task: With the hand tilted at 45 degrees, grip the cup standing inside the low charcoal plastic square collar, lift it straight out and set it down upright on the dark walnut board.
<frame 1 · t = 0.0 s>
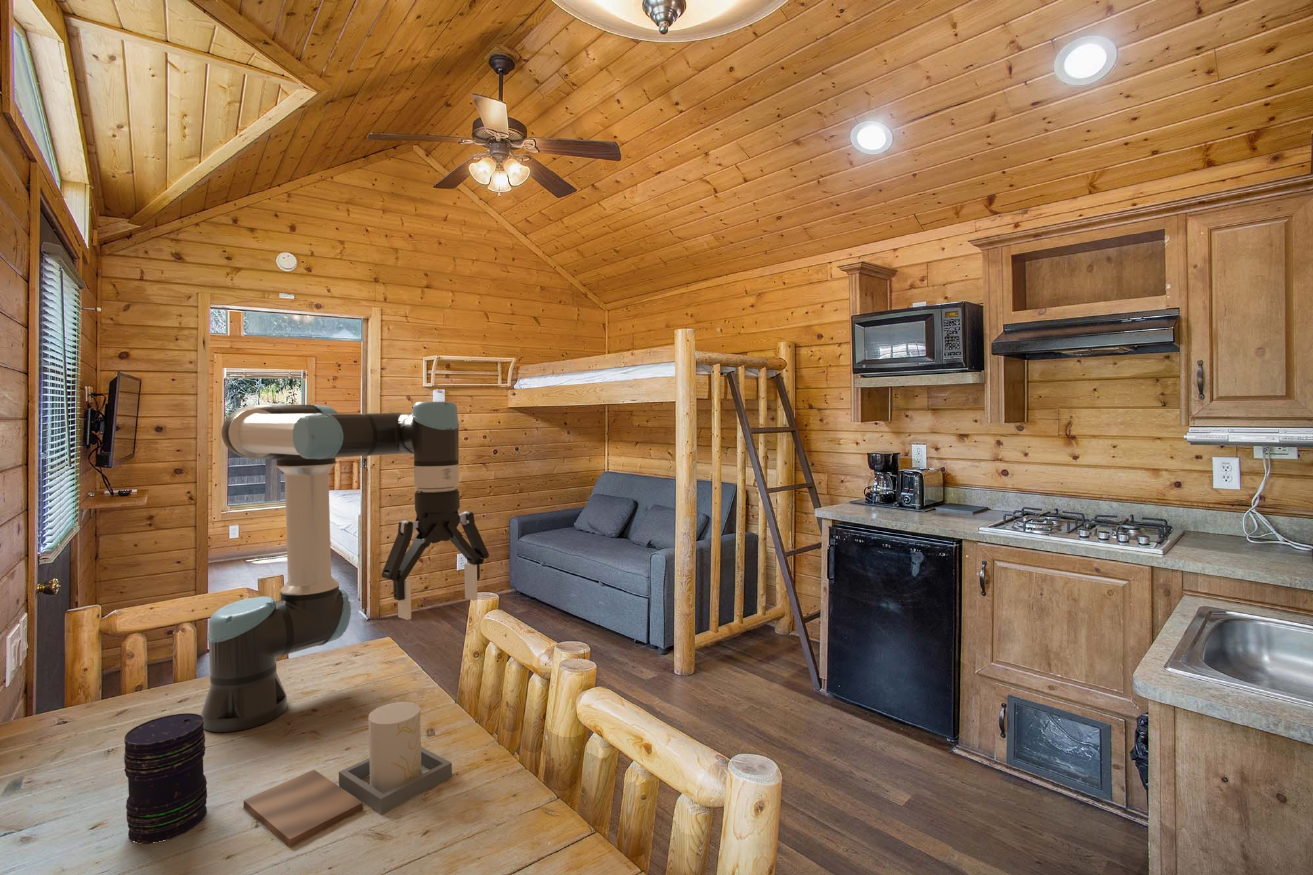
hand: (439, 608, 115), 28 cm above the table, tool pointing down, fingers open, 13 cm apart
square collar: (396, 781, 110), on the table
dark purple cylinder: (168, 824, 99), on the table
cup: (396, 782, 110), resting in square collar
walnut board: (303, 808, 103), on the table
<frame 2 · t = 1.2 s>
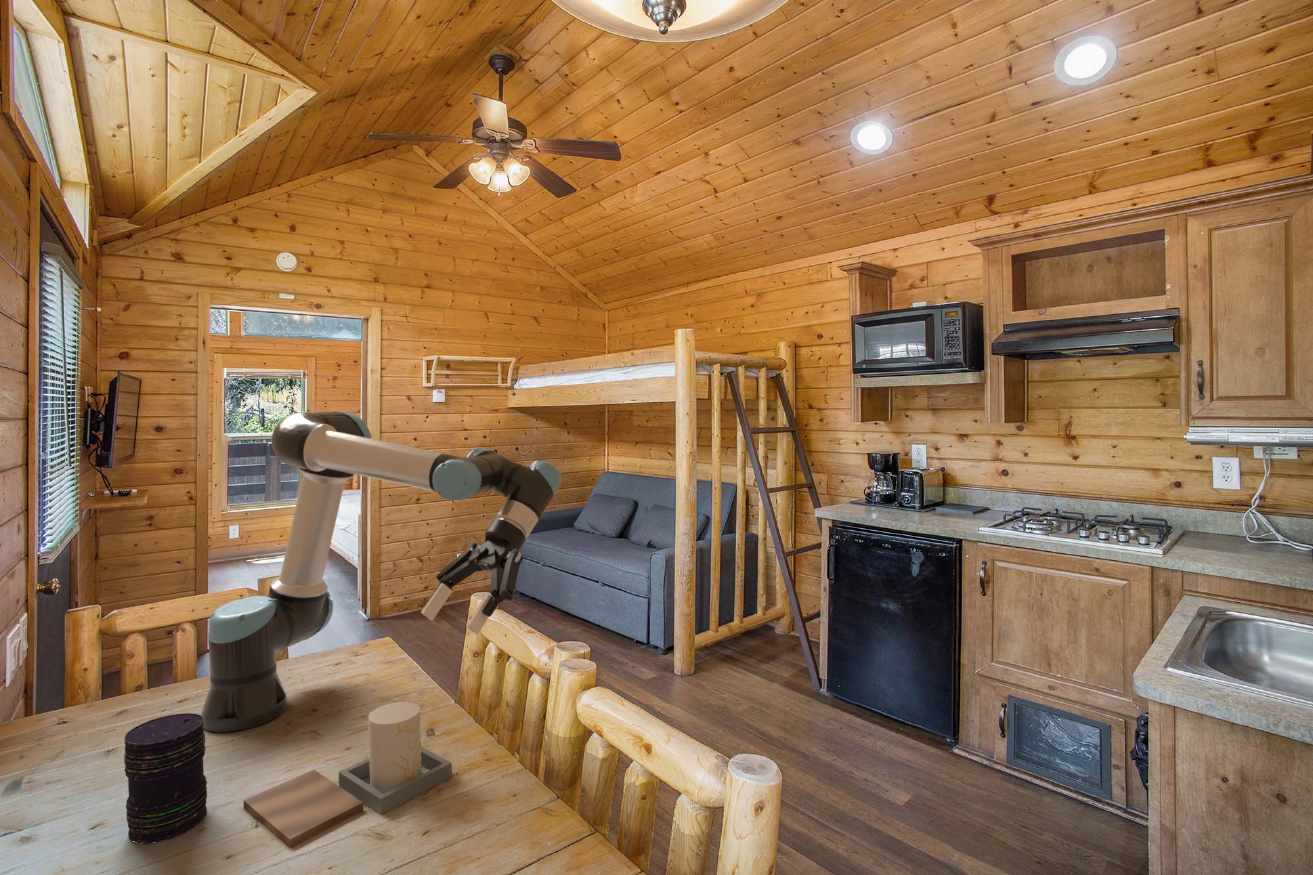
hand: (448, 623, 118), 24 cm above the table, tool tilted 45°, fingers open, 13 cm apart
nothing on the table moved.
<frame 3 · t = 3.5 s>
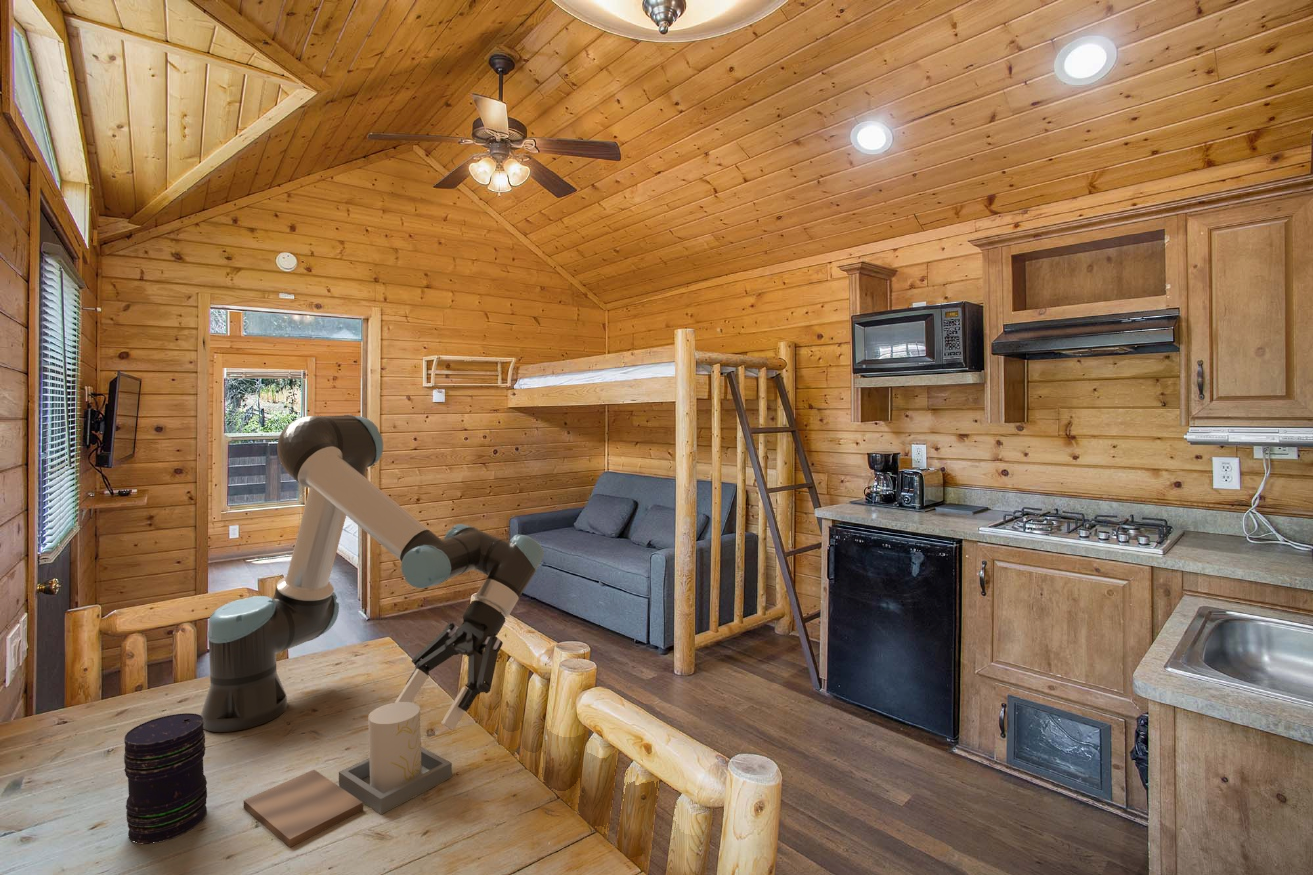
hand: (423, 716, 113), 10 cm above the table, tool tilted 45°, fingers open, 13 cm apart
nothing on the table moved.
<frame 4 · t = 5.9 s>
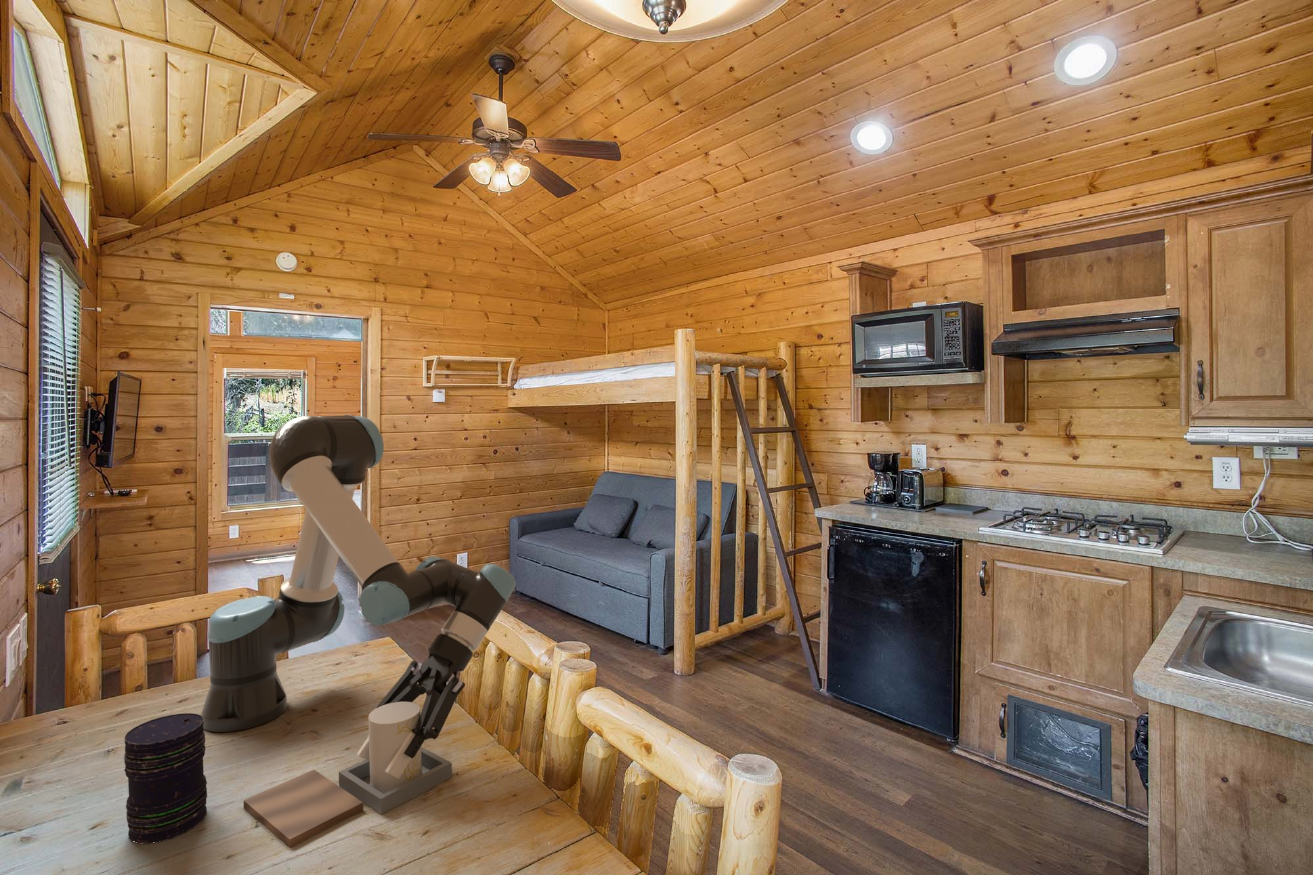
hand: (377, 766, 107), 4 cm above the table, tool tilted 45°, fingers closed on cup, 8 cm apart
cup: (396, 782, 110), resting in square collar, touching gripper
everything else where it was.
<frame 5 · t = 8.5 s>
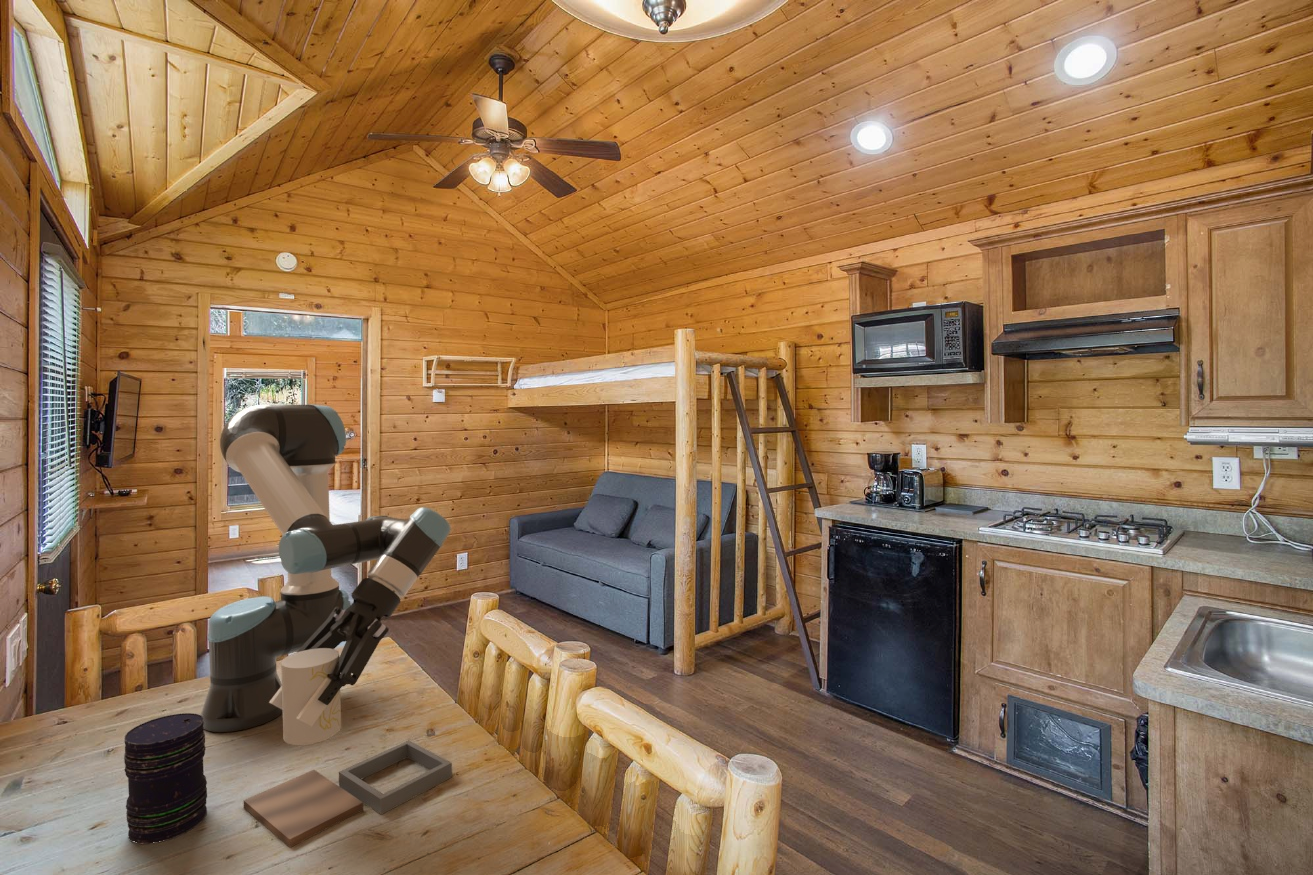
hand: (290, 714, 100), 16 cm above the table, tool tilted 45°, fingers closed on cup, 8 cm apart
cup: (312, 732, 103), point 12 cm above the table, touching gripper
everything else where it was.
when the fingers open (7 cm above the table, at t = 11.4 s): cup drops 1 cm, resting on walnut board.
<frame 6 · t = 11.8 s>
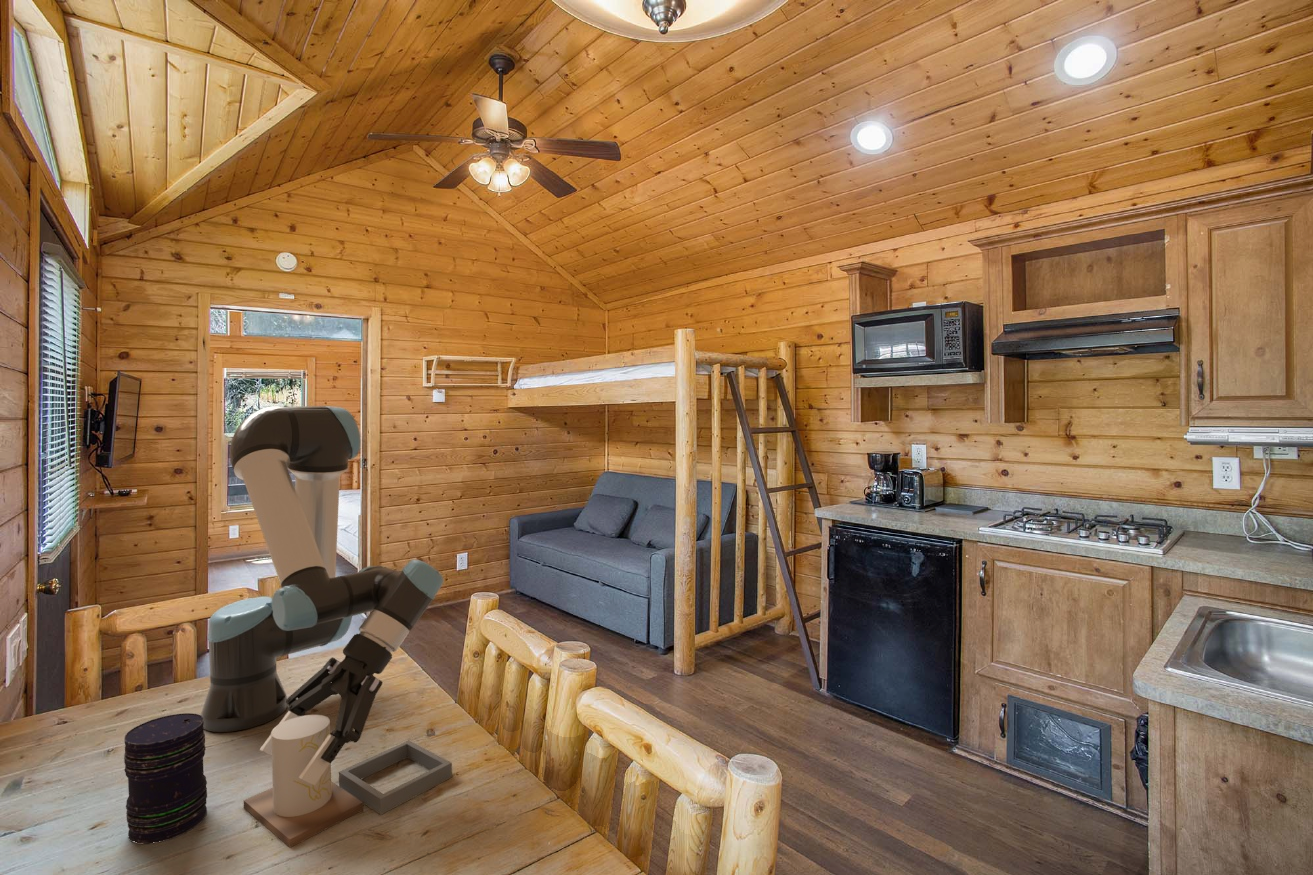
hand: (285, 767, 101), 8 cm above the table, tool tilted 45°, fingers open, 13 cm apart
cup: (303, 802, 103), point 1 cm above the table, touching walnut board
everything else where it was.
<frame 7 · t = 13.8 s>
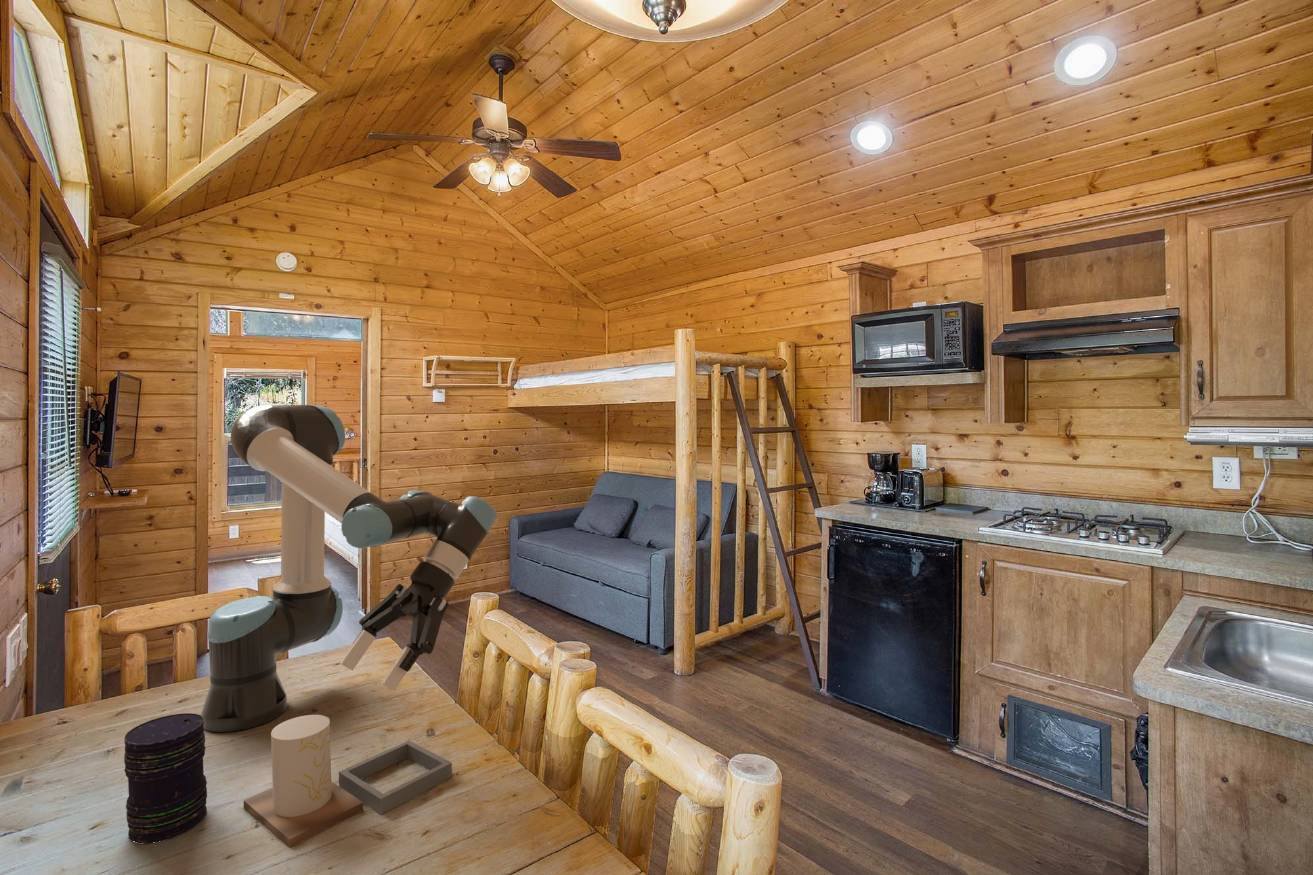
hand: (365, 676, 111), 17 cm above the table, tool tilted 45°, fingers open, 13 cm apart
nothing on the table moved.
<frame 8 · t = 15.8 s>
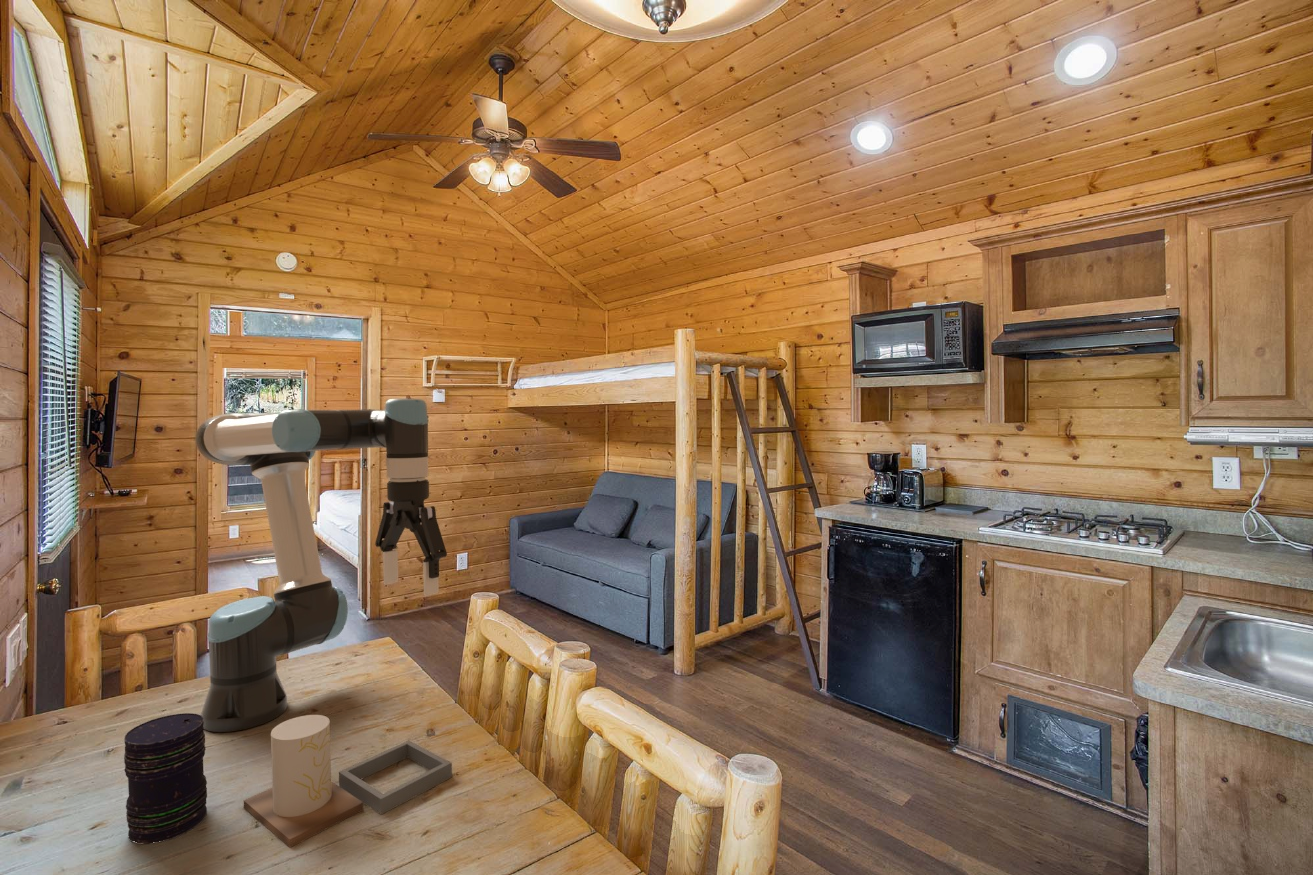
hand: (410, 589, 125), 29 cm above the table, tool pointing down, fingers open, 13 cm apart
nothing on the table moved.
at the end: cup inside the target area on the walnut board (0.1 cm from its centre), point 1.0 cm above the walnut board's base; cup tilted 0°; the gripper is holding nothing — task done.
